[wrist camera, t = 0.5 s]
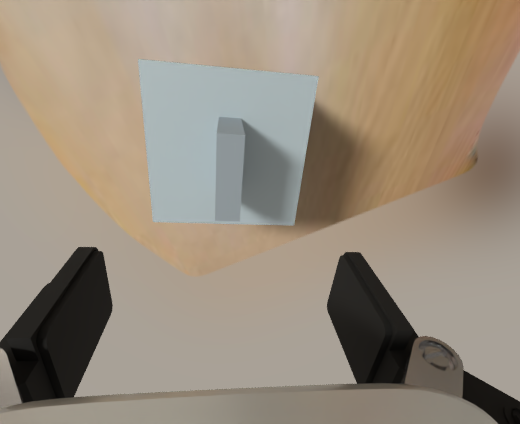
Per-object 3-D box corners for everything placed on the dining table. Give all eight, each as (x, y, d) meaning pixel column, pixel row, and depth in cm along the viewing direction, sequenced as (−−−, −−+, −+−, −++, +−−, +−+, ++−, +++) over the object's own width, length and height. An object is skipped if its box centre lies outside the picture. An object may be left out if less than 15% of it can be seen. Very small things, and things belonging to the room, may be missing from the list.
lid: (311, 75, 27) (345, 81, 20) (290, 216, 34) (308, 261, 26) (144, 59, 25) (109, 59, 18) (157, 212, 32) (135, 260, 24)
